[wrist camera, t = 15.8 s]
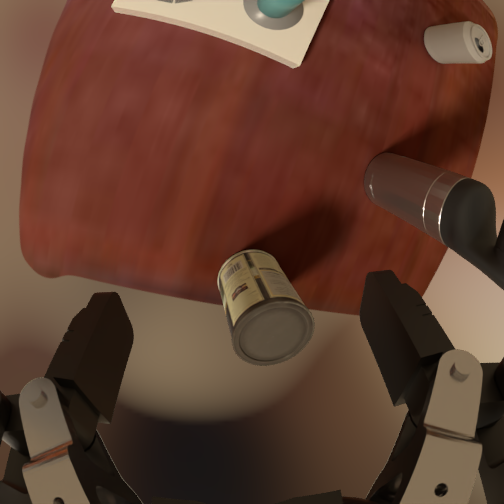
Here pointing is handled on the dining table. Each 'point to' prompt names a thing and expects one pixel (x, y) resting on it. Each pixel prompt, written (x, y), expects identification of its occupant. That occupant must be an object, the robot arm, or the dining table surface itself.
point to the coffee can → (263, 309)
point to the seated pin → (277, 7)
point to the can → (458, 43)
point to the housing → (238, 23)
